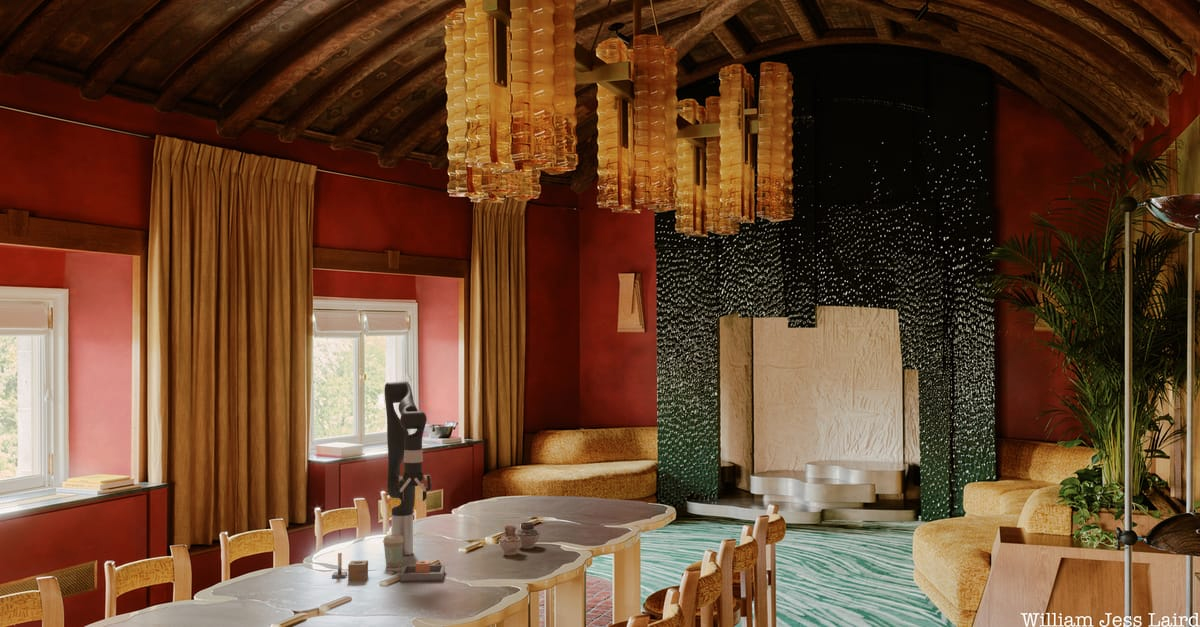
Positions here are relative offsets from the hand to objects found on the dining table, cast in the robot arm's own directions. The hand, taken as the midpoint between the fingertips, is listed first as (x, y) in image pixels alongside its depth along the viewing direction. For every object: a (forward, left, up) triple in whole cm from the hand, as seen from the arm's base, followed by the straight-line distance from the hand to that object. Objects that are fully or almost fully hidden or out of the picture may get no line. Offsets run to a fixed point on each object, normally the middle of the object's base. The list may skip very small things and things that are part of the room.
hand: (413, 500), depth 372 cm
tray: (+11, +5, -28) cm, 31 cm away
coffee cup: (-9, -9, -28) cm, 31 cm away
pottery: (-31, +43, -28) cm, 60 cm away
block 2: (+11, +5, -27) cm, 30 cm away
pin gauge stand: (+6, -28, -28) cm, 40 cm away
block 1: (+11, -20, -28) cm, 36 cm away
